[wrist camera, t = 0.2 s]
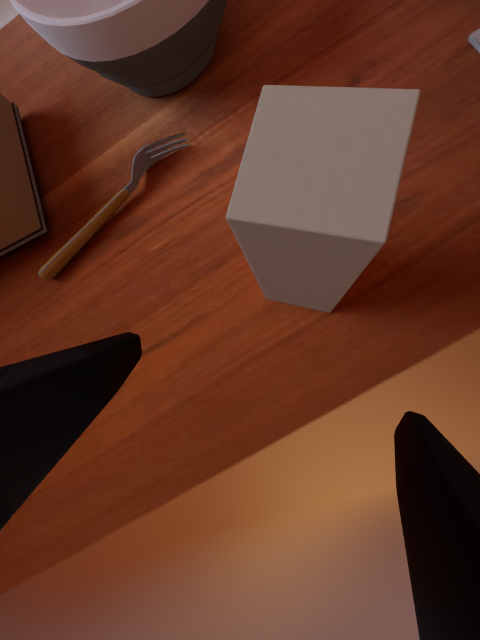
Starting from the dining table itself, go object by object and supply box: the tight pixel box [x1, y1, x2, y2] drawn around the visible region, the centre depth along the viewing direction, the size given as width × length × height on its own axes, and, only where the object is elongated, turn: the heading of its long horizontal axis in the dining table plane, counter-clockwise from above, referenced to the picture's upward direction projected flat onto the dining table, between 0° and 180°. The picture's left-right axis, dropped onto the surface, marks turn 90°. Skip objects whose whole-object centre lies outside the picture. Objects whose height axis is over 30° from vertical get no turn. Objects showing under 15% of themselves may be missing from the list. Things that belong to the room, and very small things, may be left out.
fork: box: [38, 133, 191, 280], centre depth 26 cm, size 2×2×20 cm
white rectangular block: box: [226, 85, 420, 313], centre depth 16 cm, size 5×5×14 cm
